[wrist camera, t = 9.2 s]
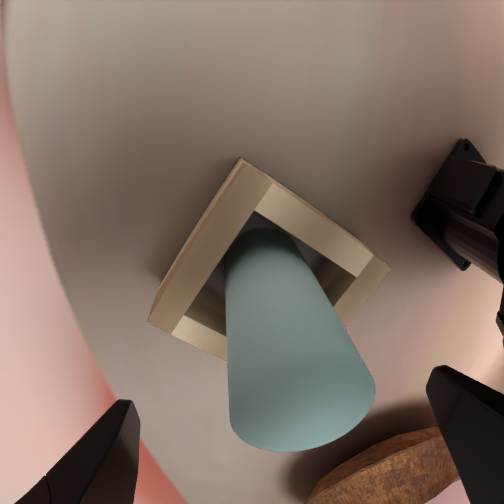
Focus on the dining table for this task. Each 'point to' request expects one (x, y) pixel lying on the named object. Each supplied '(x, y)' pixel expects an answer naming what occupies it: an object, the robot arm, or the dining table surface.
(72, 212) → the dining table surface
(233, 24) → the dining table surface
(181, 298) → the socket
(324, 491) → the bowl
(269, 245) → the peg
